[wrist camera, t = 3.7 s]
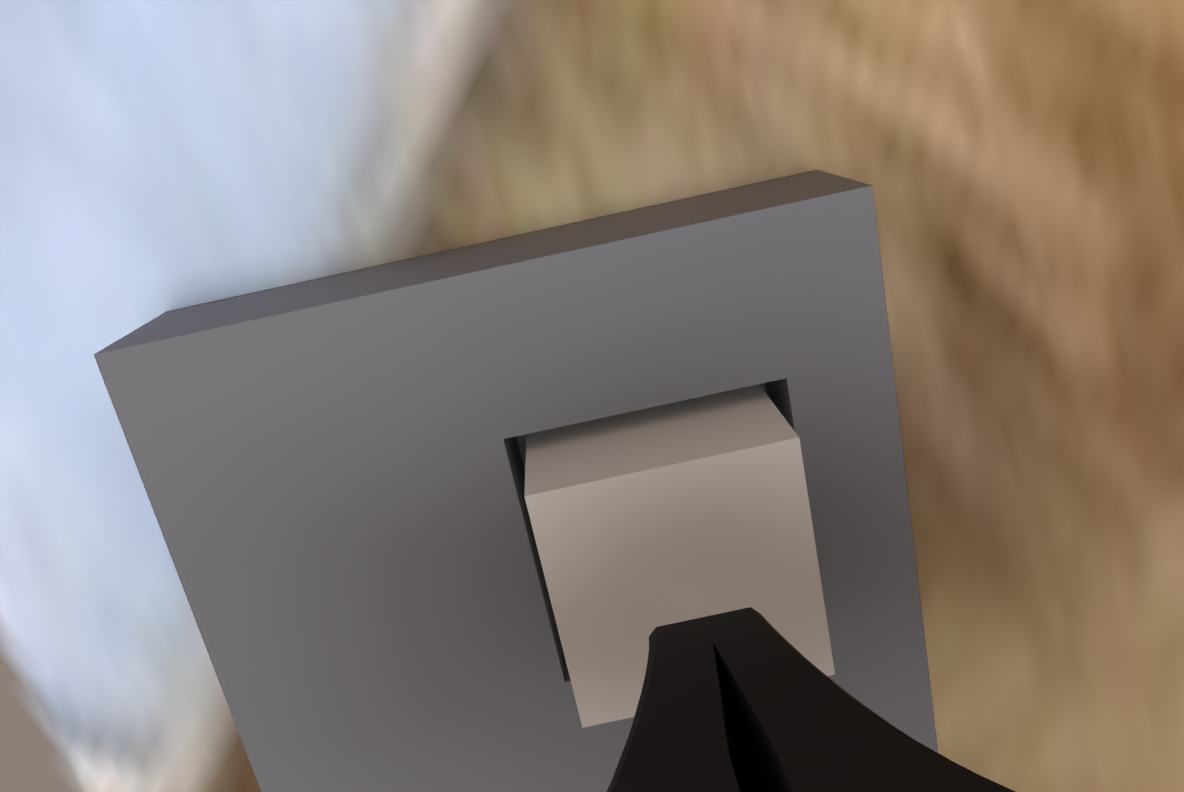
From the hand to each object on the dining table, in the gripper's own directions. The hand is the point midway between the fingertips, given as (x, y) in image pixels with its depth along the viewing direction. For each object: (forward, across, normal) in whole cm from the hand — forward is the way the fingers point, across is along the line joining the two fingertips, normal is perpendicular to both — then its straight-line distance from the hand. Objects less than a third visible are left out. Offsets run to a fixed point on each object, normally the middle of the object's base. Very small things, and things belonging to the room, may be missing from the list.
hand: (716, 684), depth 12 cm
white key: (+5, 0, 0) cm, 5 cm away
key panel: (+7, +2, +5) cm, 9 cm away
